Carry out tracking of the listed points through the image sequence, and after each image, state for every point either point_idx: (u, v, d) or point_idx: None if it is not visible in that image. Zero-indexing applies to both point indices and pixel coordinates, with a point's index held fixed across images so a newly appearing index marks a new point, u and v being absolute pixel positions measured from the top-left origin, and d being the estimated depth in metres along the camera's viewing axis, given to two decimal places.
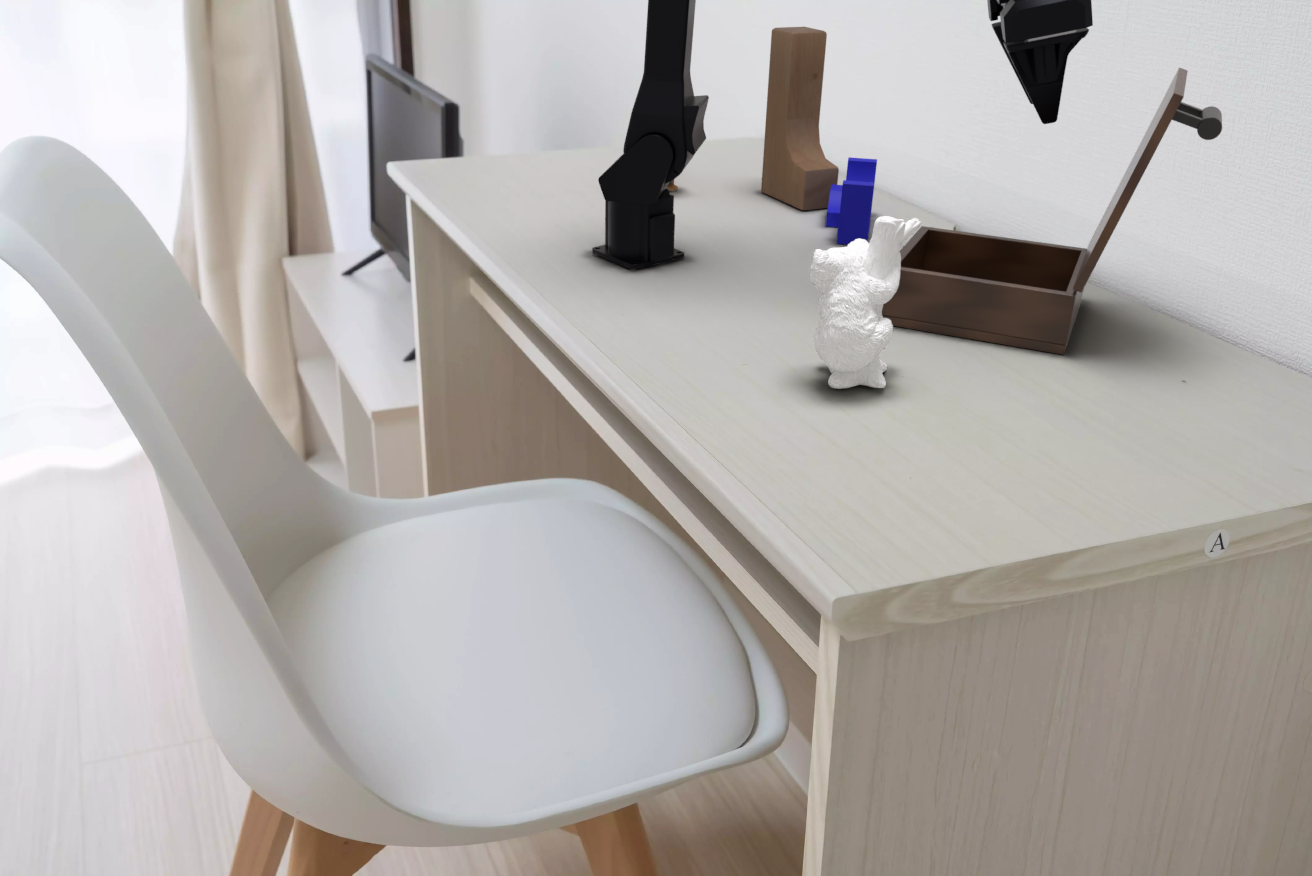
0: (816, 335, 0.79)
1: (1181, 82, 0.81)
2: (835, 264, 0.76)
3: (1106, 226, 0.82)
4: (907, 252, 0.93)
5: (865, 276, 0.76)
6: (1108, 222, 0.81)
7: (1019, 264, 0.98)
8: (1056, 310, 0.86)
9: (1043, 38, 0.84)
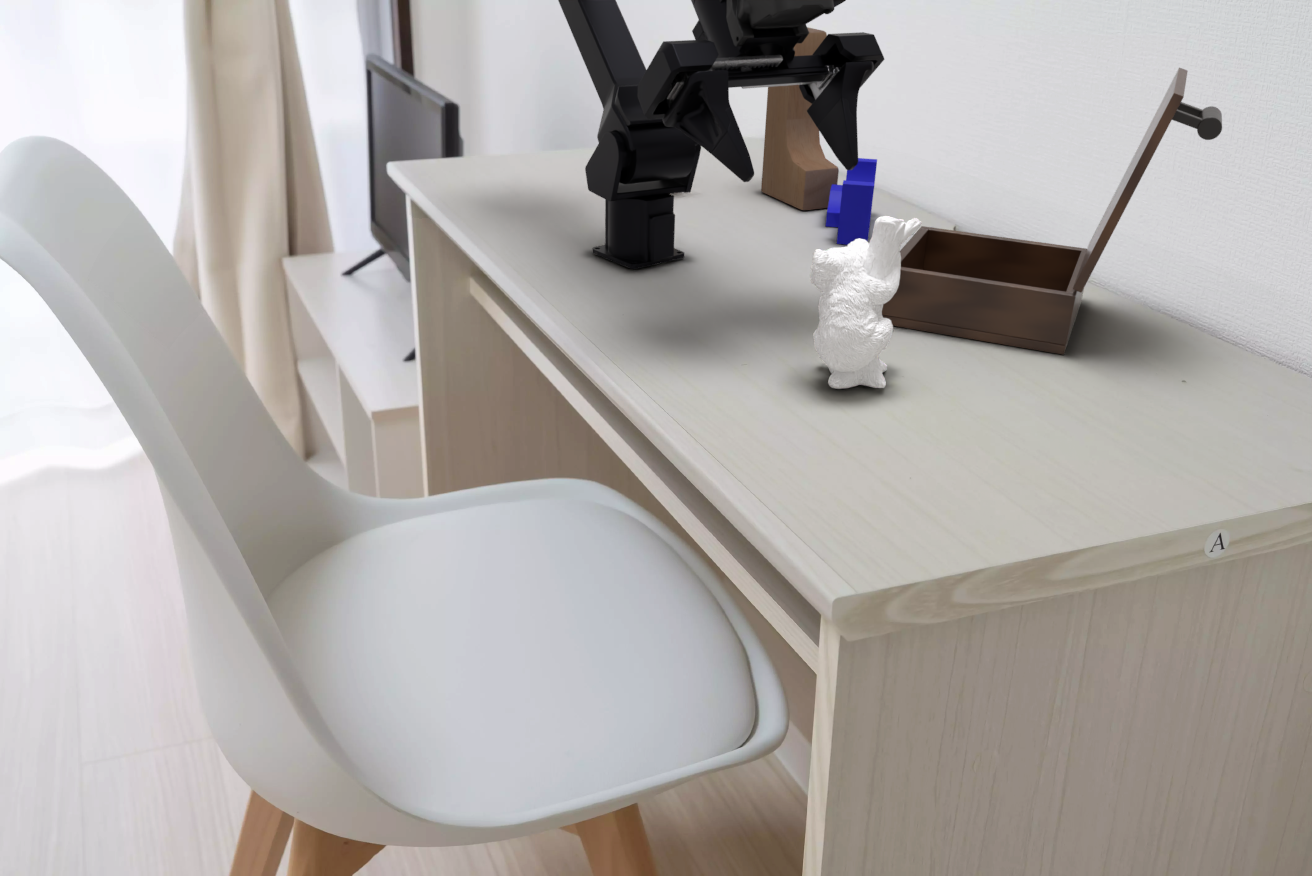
0: (816, 335, 0.79)
1: (1181, 82, 0.81)
2: (835, 264, 0.76)
3: (1106, 226, 0.82)
4: (907, 252, 0.93)
5: (865, 276, 0.76)
6: (1108, 222, 0.81)
7: (1019, 264, 0.98)
8: (1056, 310, 0.86)
9: (674, 100, 0.80)
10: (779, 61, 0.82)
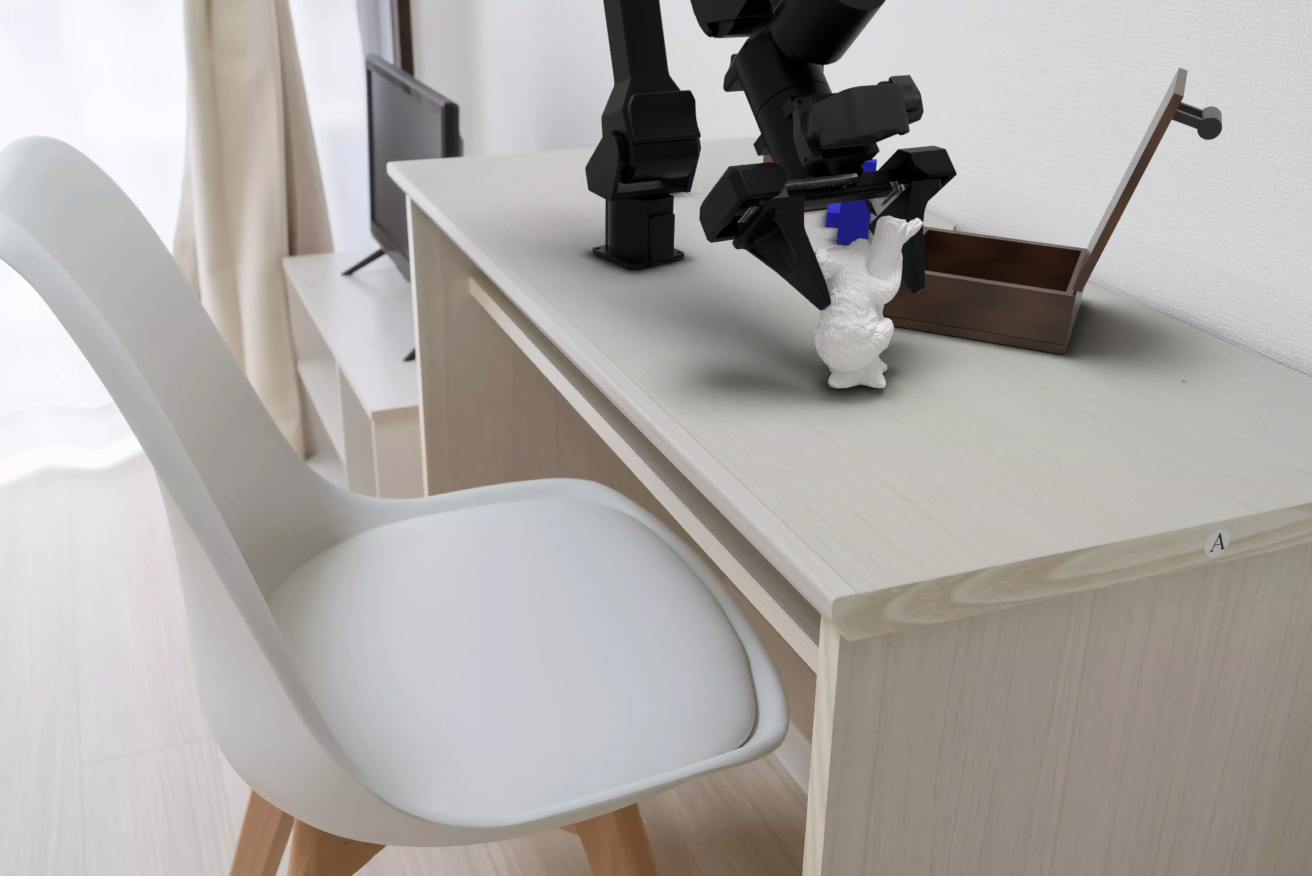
0: (817, 334, 0.79)
1: (1181, 82, 0.81)
2: (836, 264, 0.76)
3: (1106, 226, 0.82)
4: None
5: (866, 276, 0.76)
6: (1108, 222, 0.81)
7: (1019, 264, 0.98)
8: (1056, 310, 0.86)
9: (746, 224, 0.76)
10: (854, 179, 0.78)
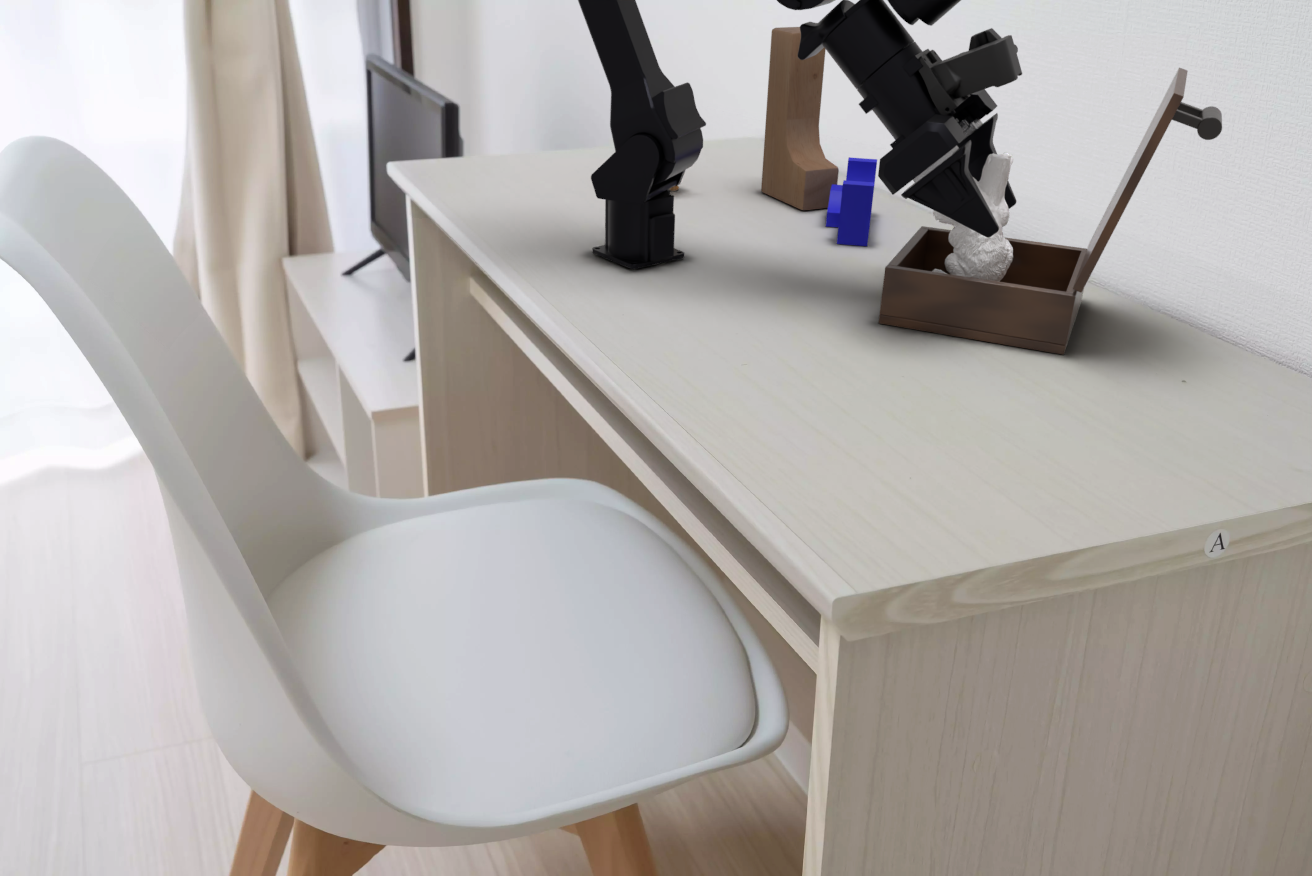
0: (954, 263, 0.92)
1: (1181, 82, 0.81)
2: None
3: (1106, 226, 0.82)
4: (907, 252, 0.93)
5: (994, 206, 0.91)
6: (1108, 222, 0.81)
7: (1019, 264, 0.98)
8: (1056, 310, 0.86)
9: (926, 173, 0.84)
10: None
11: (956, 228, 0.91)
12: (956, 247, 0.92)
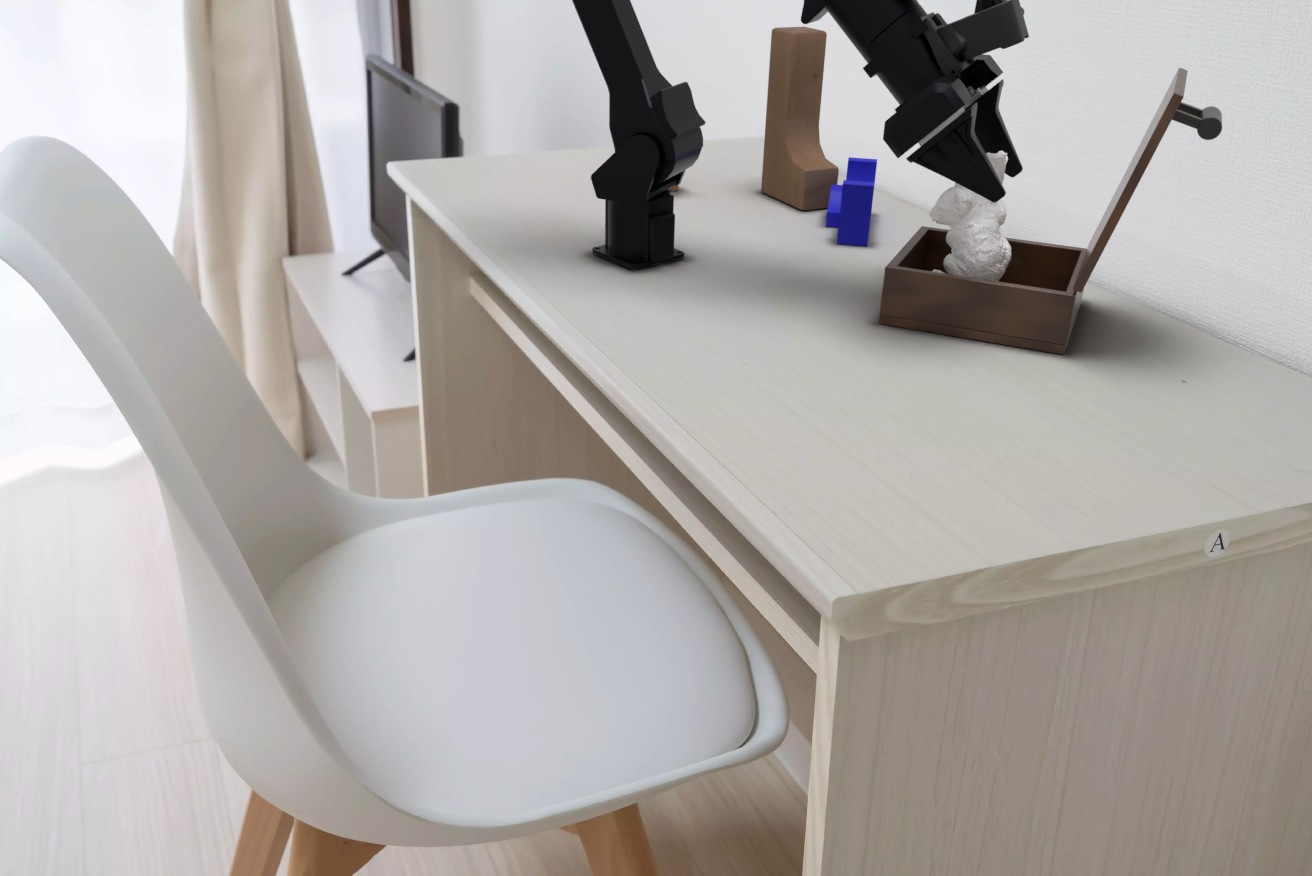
0: (952, 264, 0.92)
1: (1181, 82, 0.81)
2: (971, 200, 0.89)
3: (1106, 226, 0.82)
4: (907, 252, 0.93)
5: (990, 205, 0.91)
6: (1108, 222, 0.81)
7: (1019, 264, 0.98)
8: (1056, 310, 0.86)
9: (932, 136, 0.83)
10: None
11: (953, 229, 0.91)
12: (954, 248, 0.92)
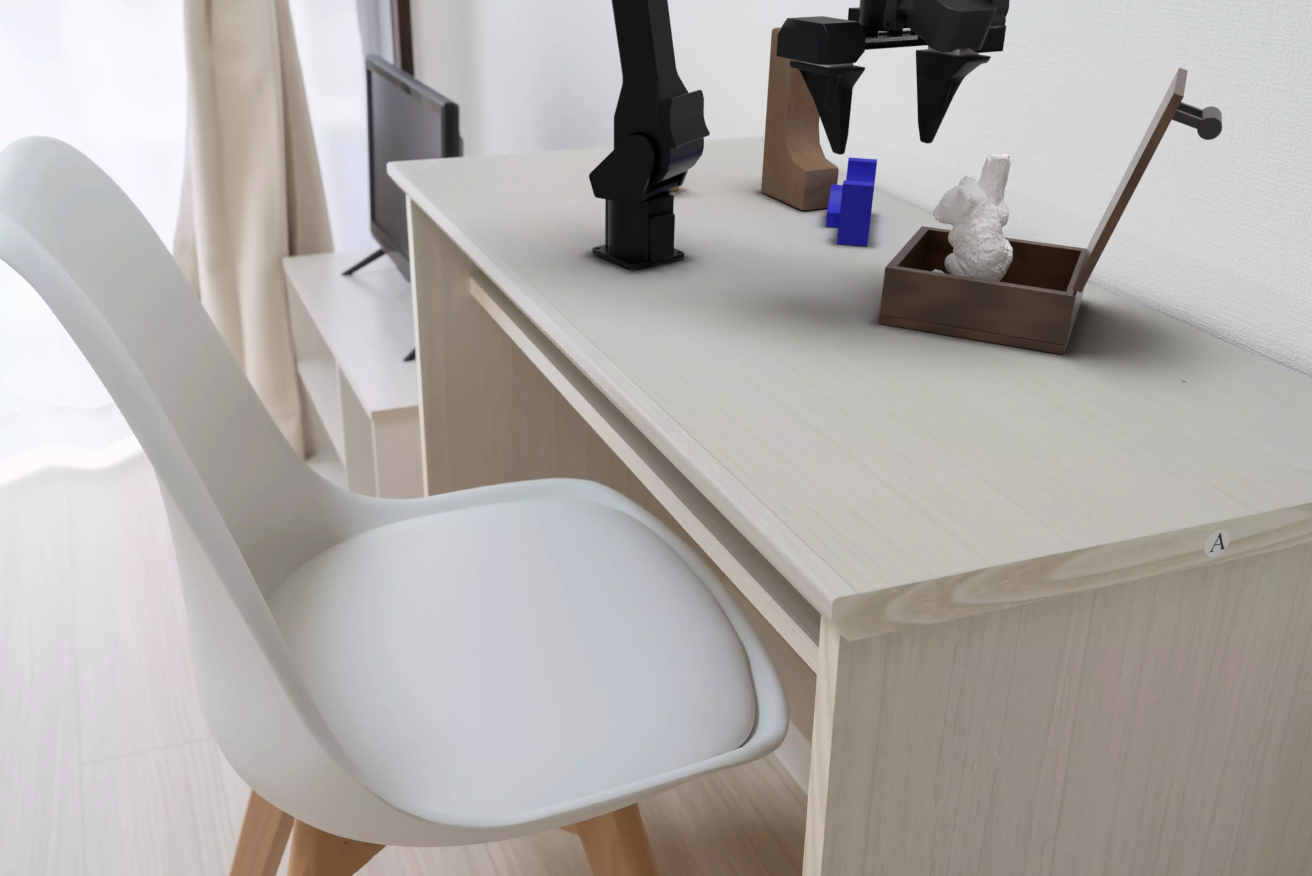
0: (954, 263, 0.92)
1: (1181, 82, 0.81)
2: (975, 199, 0.89)
3: (1106, 226, 0.82)
4: (907, 252, 0.93)
5: (994, 205, 0.91)
6: (1108, 222, 0.81)
7: (1019, 264, 0.98)
8: (1056, 310, 0.86)
9: (808, 63, 0.84)
10: None
11: (956, 228, 0.91)
12: (956, 247, 0.92)
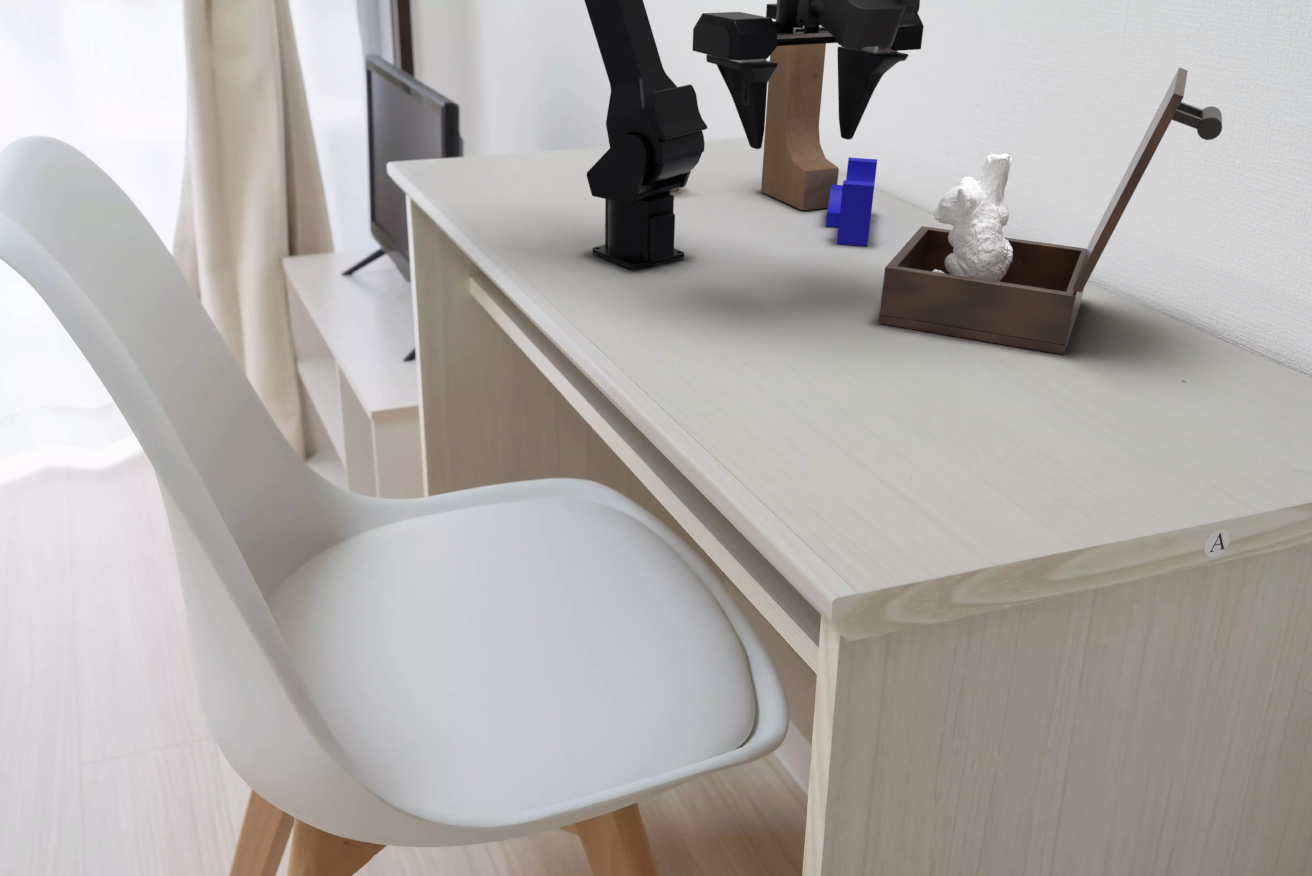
0: (954, 263, 0.92)
1: (1181, 82, 0.81)
2: (975, 199, 0.89)
3: (1106, 226, 0.82)
4: (907, 252, 0.93)
5: (994, 205, 0.91)
6: (1108, 222, 0.81)
7: (1019, 264, 0.98)
8: (1056, 310, 0.86)
9: (723, 58, 0.86)
10: None
11: (956, 228, 0.91)
12: (956, 247, 0.92)
